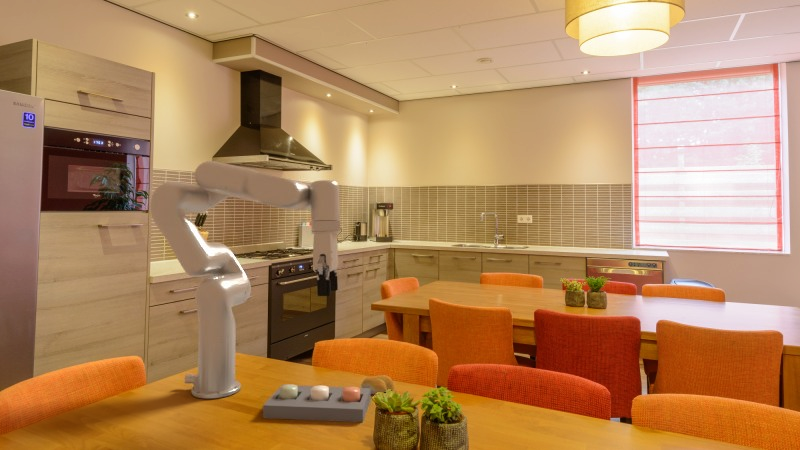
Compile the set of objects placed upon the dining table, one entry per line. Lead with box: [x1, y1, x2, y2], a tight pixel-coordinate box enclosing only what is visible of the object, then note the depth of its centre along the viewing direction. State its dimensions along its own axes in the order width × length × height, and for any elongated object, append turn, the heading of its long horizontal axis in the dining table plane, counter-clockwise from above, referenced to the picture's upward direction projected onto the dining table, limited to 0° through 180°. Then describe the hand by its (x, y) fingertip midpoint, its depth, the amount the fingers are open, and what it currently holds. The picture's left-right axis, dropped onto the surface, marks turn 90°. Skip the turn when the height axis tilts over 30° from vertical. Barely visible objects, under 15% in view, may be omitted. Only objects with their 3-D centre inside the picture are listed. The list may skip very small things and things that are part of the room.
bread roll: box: [360, 374, 395, 395], centre depth 131 cm, size 8×9×4 cm
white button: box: [311, 384, 330, 401], centre depth 117 cm, size 4×4×4 cm
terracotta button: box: [342, 386, 361, 402], centre depth 116 cm, size 4×4×4 cm
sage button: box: [279, 383, 299, 400], centre depth 117 cm, size 4×4×4 cm
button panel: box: [262, 384, 372, 423], centre depth 117 cm, size 24×14×3 cm, turn 86°
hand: (328, 293), depth 121 cm, fingers open, 9 cm apart
